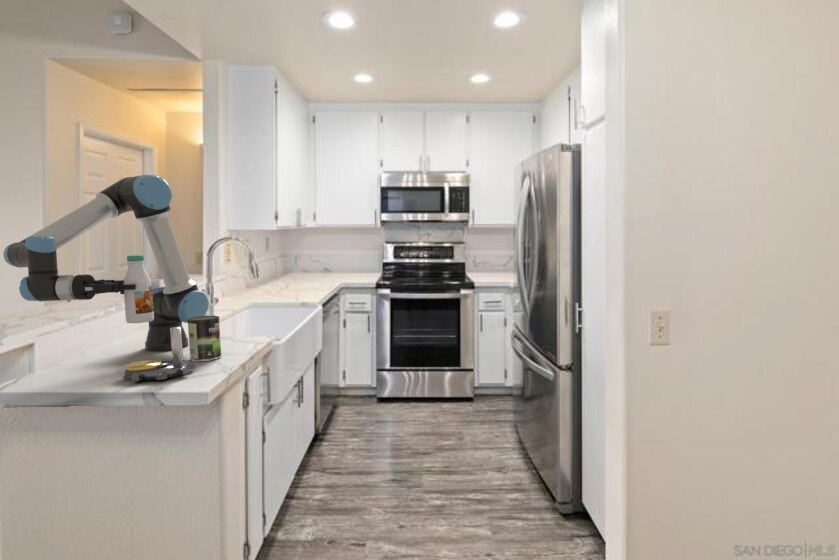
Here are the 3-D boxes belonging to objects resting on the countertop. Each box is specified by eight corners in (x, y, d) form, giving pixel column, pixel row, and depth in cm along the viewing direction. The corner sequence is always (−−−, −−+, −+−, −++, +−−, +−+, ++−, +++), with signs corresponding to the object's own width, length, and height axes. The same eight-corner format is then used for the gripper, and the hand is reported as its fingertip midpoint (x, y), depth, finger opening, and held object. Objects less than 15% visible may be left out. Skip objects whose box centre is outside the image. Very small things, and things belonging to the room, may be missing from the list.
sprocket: (124, 370, 185) (120, 326, 184) (191, 362, 193) (188, 320, 192) (124, 384, 167) (120, 336, 166) (197, 375, 176) (194, 328, 175)
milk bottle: (125, 324, 173) (120, 256, 172) (126, 321, 180) (121, 255, 179) (154, 322, 176) (149, 255, 175) (154, 318, 183) (149, 254, 182)
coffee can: (227, 355, 207) (225, 315, 206) (211, 362, 197) (208, 320, 196) (200, 354, 209) (198, 315, 208) (183, 361, 199) (180, 320, 198)
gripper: (96, 295, 188) (168, 293, 188) (58, 304, 167) (139, 301, 168) (94, 272, 187) (167, 269, 187) (55, 277, 167) (137, 275, 167)
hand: (153, 284), depth 177 cm, fingers closed on milk bottle, 8 cm apart
